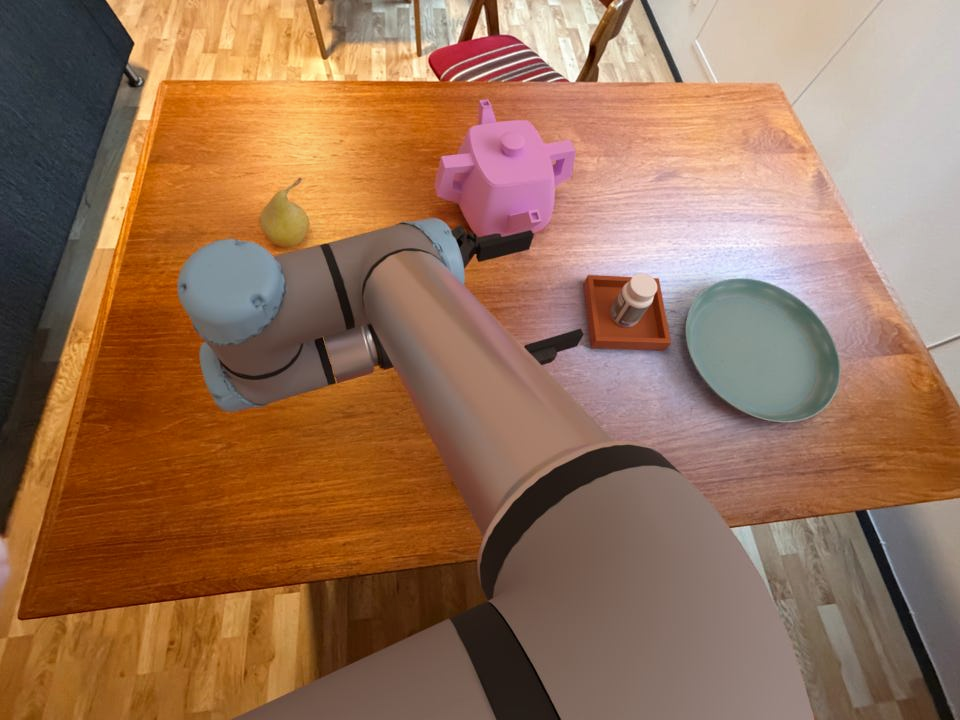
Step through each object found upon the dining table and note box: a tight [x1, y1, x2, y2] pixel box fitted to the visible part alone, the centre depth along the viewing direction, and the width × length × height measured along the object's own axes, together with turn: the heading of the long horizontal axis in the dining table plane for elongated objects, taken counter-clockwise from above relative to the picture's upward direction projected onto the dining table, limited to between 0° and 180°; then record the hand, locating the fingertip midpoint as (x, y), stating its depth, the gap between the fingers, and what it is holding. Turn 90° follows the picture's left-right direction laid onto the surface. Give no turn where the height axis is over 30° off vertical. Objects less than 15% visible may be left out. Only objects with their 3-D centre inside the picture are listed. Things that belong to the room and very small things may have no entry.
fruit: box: [259, 177, 310, 248], centre depth 80 cm, size 7×8×12 cm
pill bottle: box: [610, 273, 657, 327], centre depth 82 cm, size 5×5×8 cm
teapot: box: [433, 99, 577, 238], centre depth 86 cm, size 19×18×15 cm
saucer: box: [685, 277, 841, 423], centre depth 84 cm, size 24×24×3 cm
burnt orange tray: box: [582, 274, 672, 352], centre depth 85 cm, size 12×12×3 cm
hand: (553, 286), depth 62 cm, fingers open, 13 cm apart
